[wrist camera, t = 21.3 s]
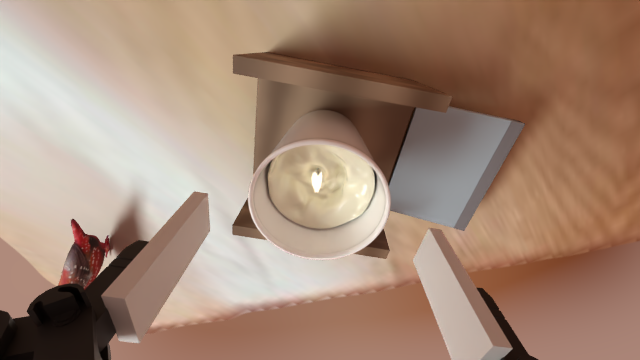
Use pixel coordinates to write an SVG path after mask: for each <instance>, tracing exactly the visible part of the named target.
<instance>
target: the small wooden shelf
mask: <svg viewBox="0 0 640 360" xmlns="http://www.w3.org/2000/svg"><path fill="white" fill-rule="evenodd" d="M233 73H234V74H239V75H244V76H250V77H255V78H258V85H257V106H256V127H255V148H254V169H253V175H254V173H255V171H256V170H257V168H258V167H259V165H260V164H261V163H262V162H263V160H264V159H265V158H267V157H268V156H269V154H270V153H271V152H272V150H273V149H274V148H275V146H276V145H277V144H278V143H279V141H280V140H281V139H282V137H283V136H284V135H285V133H286V132H287V131H288V130H289V128H290V127H291V126H292V125H293V124H294V122H295V121H296V120H298V119H299V118H300V117H301V116H303V115H305V114H307V113H309V112H312V111H316V110H331V111H335V112H338V113H340V114H342V115H344V116H345V117H347V118H348V119H349V120H350V121H351V122H352V123H353V124H354V125H355V126H356V128H357V129H358V131H359V133H360V134H361V136H362V138H363V140H364V142H365V144H366V145H367V147H368V149H369V151H370V153H371V155H372V156H373V158H374V160H375V162H376V164H377V165H378V167H379V168H380V169H381V171H382V172H383V174H384V176H385V178H386V180H387V183H388V181H389V178H390V175H391V172H392V169H393V166H394V163H395V160H396V157H397V155H398V152H399V149H400V146H401V143H402V140H403V137H404V134H405V131H406V128H407V126H408V123H409V120H410V117H411V114H412V111H413V108H414V107H416V108H421V109H427V110H432V111H438V112H443V113H446V112H447V109H448V107H449V104H450V102H451V99H452V96H450V95H448V94H445V93H443V92H440V91H438V90H435V89H433V88H430V87H428V86H426V85H423V84H421V83H418V82H416V81H413V80H409V79H404V78H398V77H393V76H388V75H383V74H377V73H372V72H367V71H362V70H356V69H351V68H346V67H341V66H335V65H330V64H325V63H320V62H315V61H309V60H304V59H299V58H294V57H288V56H283V55H278V54H273V53H267V52H264V53H252V54H239V55H233ZM233 235H239V236H245V237H251V238H258V239H264V240H267V239H266V238H265V237H264V236H263V235H262V234H261V232H260V231H259V230H258V228H257V227H256V225H255V223H254V221H253V219H252V217H251V214H250V210H249V205H248V198H247V200H246V202H245V204H244V206H243V207H242V209H241V211H240V213H239V215H238V216H237V218H236V220H235V222H234V224H233ZM389 251H390V250H389V246H388V243H387V239H386V236H385V232H384V229H383V230H382V231H381V232H380V234H379V235H378V236H377V237H376V238H375V239H374V240H373V241H372V242H371V243H370V244H369V245H367V246H366V247H365V248H363V249H361V250H360V251H358V252H356V253H353V254H359V255H365V256H371V257H378V258H384V259H386V258H387V256H388V253H389Z"/></svg>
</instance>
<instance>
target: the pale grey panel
mask: <svg viewBox="0 0 640 360" xmlns="http://www.w3.org/2000/svg"><path fill="white" fill-rule="evenodd" d="M524 125H525V124H524V123H522V122H520V121H517V120H512V119H508V118H503V117H498V116H493V115H488V114H484V113H479V112H474V111H470V110H465V109H460V108H455V107H451V106H449V107H448V109H447V112H446V113H443V112H438V111H432V110H427V109H421V108H416V107H415V108H414V111H413V114H412V117H411V120H410V123H409V126H408V129H407V132H406V134H405V137H404V140H403V143H402V146H401V149H400V152H399V155H398V158H397V160H396V163H395V166H394V169H393V172H392V175H391V178H390V181H389V183H388V186H389V190H390V196H391V207H390V211H394V212H397V213H401V214H405V215H408V216H412V217H416V218H419V219H423V220H427V221H430V222H434V223H438V224H441V225H445V226H449V227H452V228H455V229H459V230H462V231H464V230H465V228H466V227H467V225H468V223H469V221H470V220H471V218H472V216H473V214H474V213H475V211H476V209H477V207H478V206H479V204H480V202H481V200H482V199H483V197H484V195H485V193H486V192H487V190H488V188H489V186H490V185H491V183H492V181H493V180H494V178H495V176H496V174H497V173H498V171H499V169H500V167H501V166H502V164H503V162H504V160H505V159H506V157H507V155H508V153H509V152H510V150H511V148H512V146H513V145H514V143H515V141H516V139H517V138H518V136H519V134H520V132H521V131H522V129H523V127H524Z"/></svg>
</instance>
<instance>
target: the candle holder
mask: <svg viewBox="0 0 640 360" xmlns="http://www.w3.org/2000/svg"><path fill="white" fill-rule="evenodd" d="M248 205H249V210H250V214H251V217H252V219H253V221H254V223H255V225H256V227H257V228H258V230H259V231H260V232H261V234H262V235H263V236H264V237H265V238H266V239H267V240H268V241H269V242H271V243H272V244H273V245H274V246H276V247H277V248H279V249H281V250H283V251H285V252H287V253H289V254H291V255H294V256H297V257H301V258H306V259H312V260H330V259H337V258H342V257H345V256H348V255H351V254H353V253H356V252H358V251H360V250H361V249H363V248H365V247H366V246H367V245H369V244H370V243H371V242H372V241H373V240H374V239H375V238H376V237H377V236H378V235H379V234H380V232H381V231H382V230H383V228H384V226H385V224H386V222H387V220H388V217H389V213H390V207H391V196H390V190H389V186H388V183H387V180H386V178H385V176H384V174H383V172H382V171H381V169H380V168H379V167H378V165H377V164H376V162H375V160H374V158H373V156H372V155H371V153H370V151H369V149H368V147H367V145H366V144H365V142H364V140H363V138H362V136H361V134H360V133H359V131H358V129H357V128H356V126H355V125H354V124H353V123H352V122H351V121H350V120H349V119H348V118H347V117H345V116H344V115H342V114H340V113H338V112H335V111H331V110H316V111H312V112H309V113H307V114H305V115H303V116H301V117H300V118H299V119H298V120H296V121H295V122H294V124H293V125H292V126H291V127H290V128H289V130H288V131H287V132H286V133H285V135H284V136H283V137H282V139H281V140H280V141H279V143H278V144H277V145H276V146H275V148H274V149H273V150H272V152H271V153H270V154H269V156H268V157H267V158H265V159H264V160H263V162H262V163H261V164H260V165H259V167H258V168H257V170H256V171H255V173H254V175H253V177H252V179H251V182H250V186H249V191H248Z"/></svg>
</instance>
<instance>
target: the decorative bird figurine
mask: <svg viewBox="0 0 640 360" xmlns="http://www.w3.org/2000/svg"><path fill="white" fill-rule="evenodd" d="M71 226H72V230H73V234H74V238H75V242H74V244H73V245H72V247H71V249H70V251H69V254H68V256H67V258H66V261H65V264H64V267H63V271H62V275H61V278H60V282H59V285H63V284H68V283H73V284H79V285H81V286H83V287H84V290H85V289H86V288H87V287H88V286H89V285H90V284H91V283H92V282H93V281H94V280H95V278H96V276H97V275H98V273H99V271H100V269H101V267H102V264H103V261H104V256H105V252H106V258H107V253H108V251H109V249H110V246H109V238H108V236H109V235H108V236H107V237H106V239H105V243H102V242H100V241H99V239H98V238H97V237H96V236H93V235H87V234H85V233H84V232H83V230H82V229H81V227H80V226H79V224H78V223H77V222H76V221H75V220H74V219H72V220H71ZM59 285H58V286H59Z"/></svg>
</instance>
